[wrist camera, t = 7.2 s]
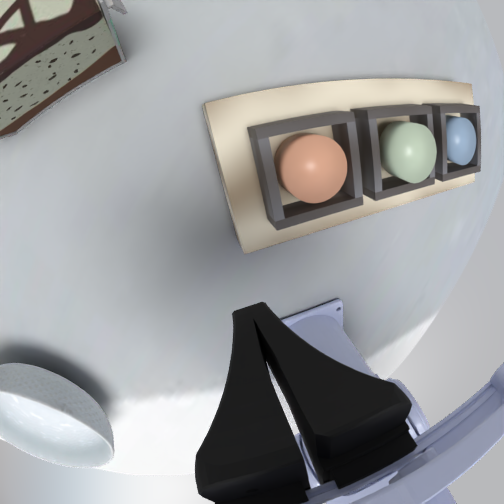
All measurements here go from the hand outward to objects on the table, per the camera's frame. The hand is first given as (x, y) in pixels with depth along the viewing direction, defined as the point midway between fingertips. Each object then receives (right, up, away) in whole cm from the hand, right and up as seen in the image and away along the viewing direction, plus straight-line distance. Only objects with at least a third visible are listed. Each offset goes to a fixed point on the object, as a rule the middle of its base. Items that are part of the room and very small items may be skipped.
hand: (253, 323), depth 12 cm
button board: (+9, +12, +8) cm, 17 cm away
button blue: (+16, +13, +7) cm, 22 cm away
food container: (-13, +16, +1) cm, 21 cm away
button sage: (+10, +10, +5) cm, 15 cm away
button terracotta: (+3, +8, +5) cm, 10 cm away
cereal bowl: (-24, -13, +13) cm, 30 cm away
